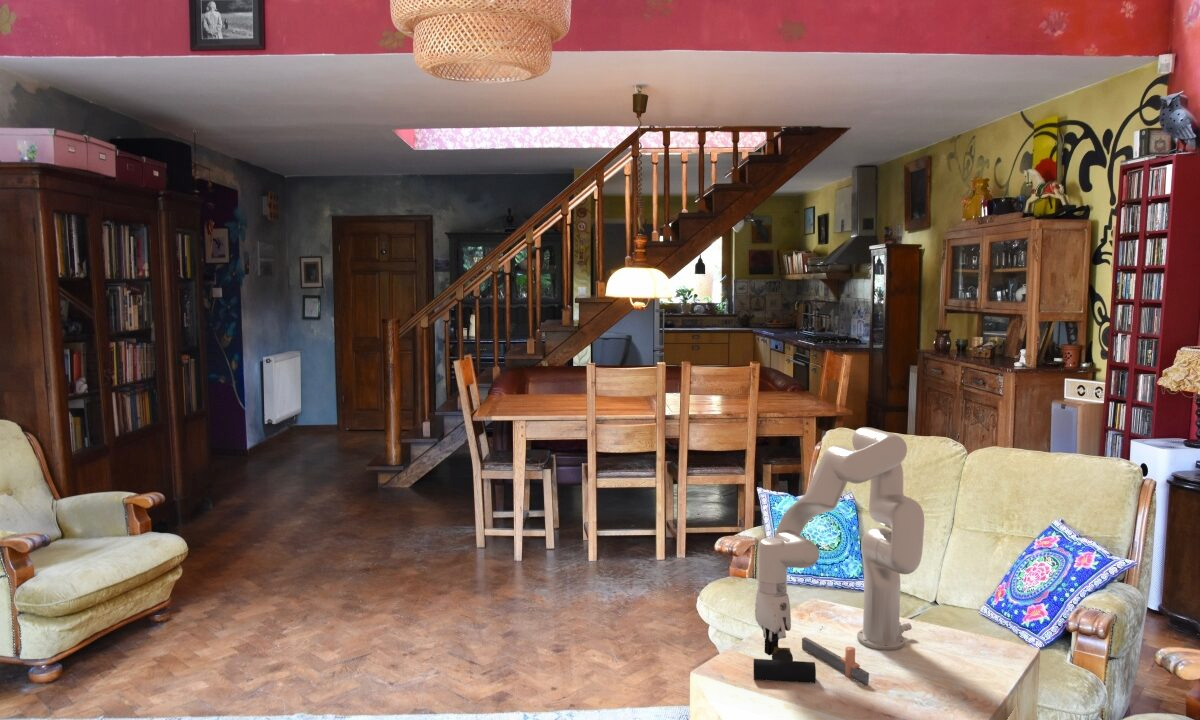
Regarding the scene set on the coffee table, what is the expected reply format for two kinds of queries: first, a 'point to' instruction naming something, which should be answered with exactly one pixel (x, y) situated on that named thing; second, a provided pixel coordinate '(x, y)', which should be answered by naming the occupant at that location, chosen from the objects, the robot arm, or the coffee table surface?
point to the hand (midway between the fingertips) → (771, 653)
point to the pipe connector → (784, 668)
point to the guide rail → (838, 660)
